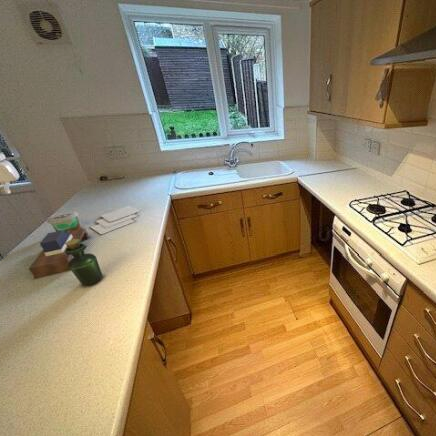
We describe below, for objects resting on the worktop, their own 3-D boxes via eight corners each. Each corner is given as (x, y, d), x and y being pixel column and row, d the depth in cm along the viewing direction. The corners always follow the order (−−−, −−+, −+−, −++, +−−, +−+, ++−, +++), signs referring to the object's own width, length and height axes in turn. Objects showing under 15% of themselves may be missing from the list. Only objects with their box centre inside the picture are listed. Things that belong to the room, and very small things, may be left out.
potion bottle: (107, 280, 92) (87, 242, 84) (80, 291, 87) (57, 251, 79) (103, 270, 97) (84, 233, 89) (78, 280, 92) (56, 241, 84)
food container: (54, 240, 119) (44, 222, 114) (54, 235, 123) (45, 217, 118) (85, 231, 125) (76, 214, 121) (84, 227, 130) (76, 210, 125)
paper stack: (149, 215, 140) (149, 214, 140) (101, 234, 122) (100, 233, 122) (130, 206, 152) (129, 205, 152) (83, 222, 134) (82, 221, 134)
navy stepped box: (62, 252, 100) (56, 240, 98) (46, 256, 98) (38, 244, 96) (72, 236, 112) (66, 225, 109) (57, 239, 110) (51, 228, 107)
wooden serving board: (35, 278, 94) (28, 268, 92) (59, 242, 116) (54, 234, 114) (73, 269, 98) (67, 259, 96) (89, 236, 121) (85, 228, 118)
